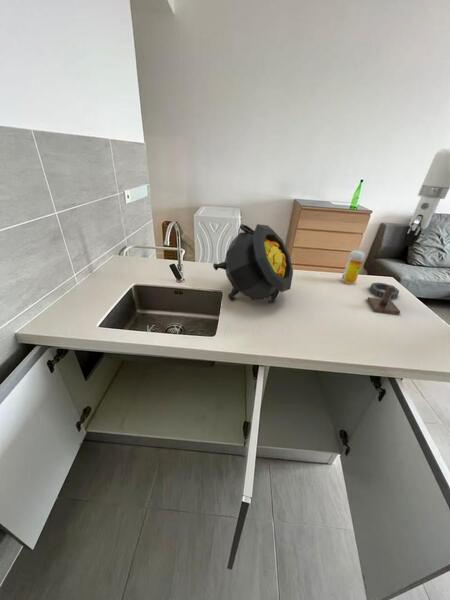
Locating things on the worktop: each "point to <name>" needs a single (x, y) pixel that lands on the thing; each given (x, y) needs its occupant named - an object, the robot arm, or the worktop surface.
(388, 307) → the peg stand
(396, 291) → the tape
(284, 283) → the cauldron
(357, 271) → the beer can
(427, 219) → the robot arm
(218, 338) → the worktop surface
